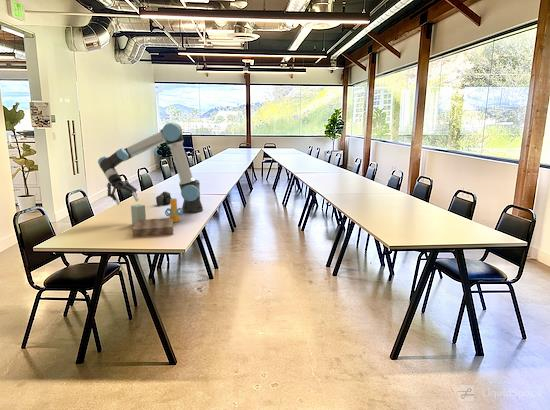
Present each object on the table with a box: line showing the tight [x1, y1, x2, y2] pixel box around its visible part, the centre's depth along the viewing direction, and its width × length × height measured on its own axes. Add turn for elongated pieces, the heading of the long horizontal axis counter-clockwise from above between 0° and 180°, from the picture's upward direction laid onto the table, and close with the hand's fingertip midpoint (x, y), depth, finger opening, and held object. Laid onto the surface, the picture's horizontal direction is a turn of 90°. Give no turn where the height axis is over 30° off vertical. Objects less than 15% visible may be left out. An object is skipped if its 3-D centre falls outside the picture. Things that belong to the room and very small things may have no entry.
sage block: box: [130, 203, 147, 225], centre depth 244 cm, size 6×6×12 cm
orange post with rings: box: [164, 198, 184, 223], centre depth 250 cm, size 12×10×15 cm
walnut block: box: [132, 217, 174, 238], centre depth 230 cm, size 22×22×5 cm
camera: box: [155, 191, 173, 206], centre depth 306 cm, size 13×10×10 cm
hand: (128, 202), depth 248 cm, fingers open, 13 cm apart
